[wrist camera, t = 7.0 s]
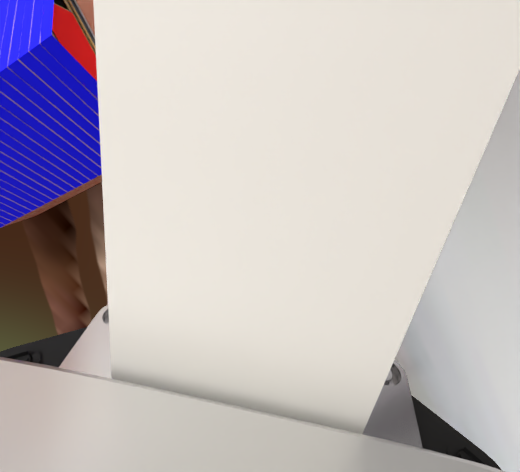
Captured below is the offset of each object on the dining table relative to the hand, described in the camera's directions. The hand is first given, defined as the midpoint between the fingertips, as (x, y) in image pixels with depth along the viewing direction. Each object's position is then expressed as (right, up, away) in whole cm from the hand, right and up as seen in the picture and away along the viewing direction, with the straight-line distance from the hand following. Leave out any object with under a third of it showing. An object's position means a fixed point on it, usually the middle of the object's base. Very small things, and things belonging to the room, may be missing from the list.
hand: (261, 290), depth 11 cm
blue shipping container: (-18, +13, +16) cm, 28 cm away
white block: (0, +1, +2) cm, 2 cm away
